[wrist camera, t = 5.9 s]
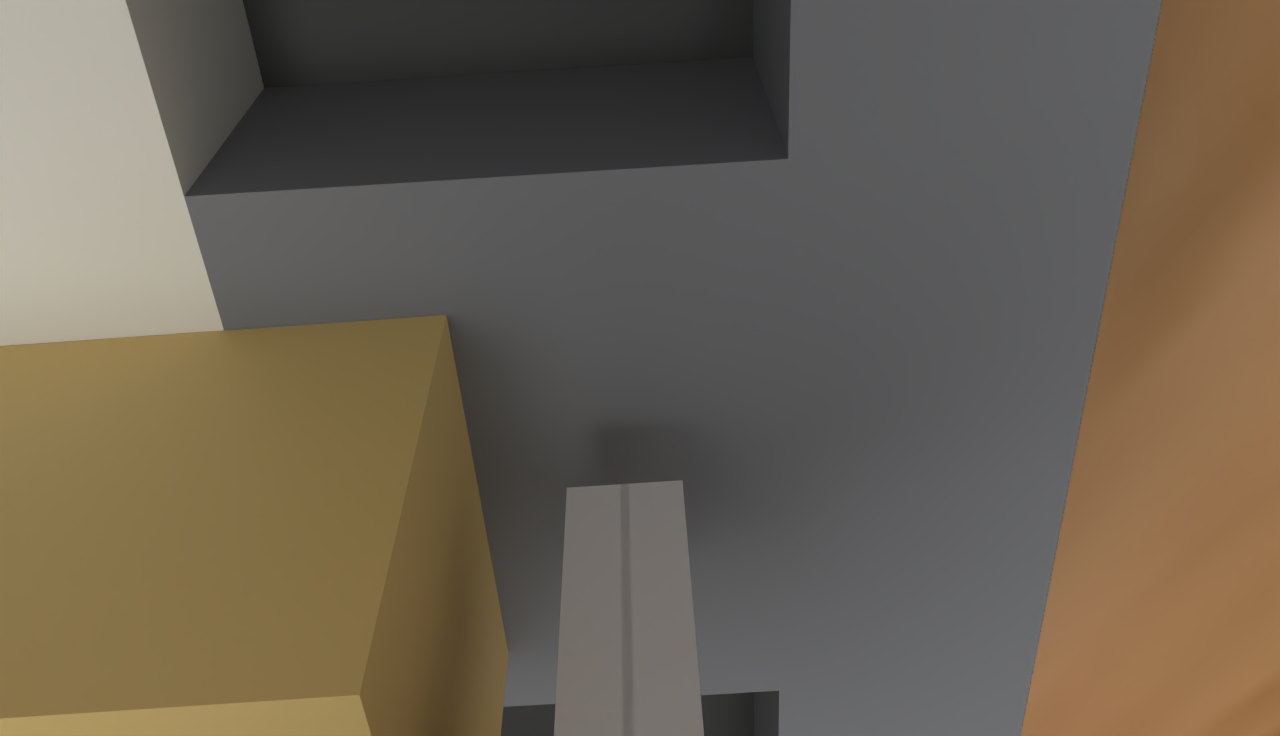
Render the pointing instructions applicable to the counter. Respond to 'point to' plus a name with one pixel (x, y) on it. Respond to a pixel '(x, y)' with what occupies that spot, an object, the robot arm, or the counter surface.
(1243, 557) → the counter surface
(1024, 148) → the tray
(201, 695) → the ochre cube
